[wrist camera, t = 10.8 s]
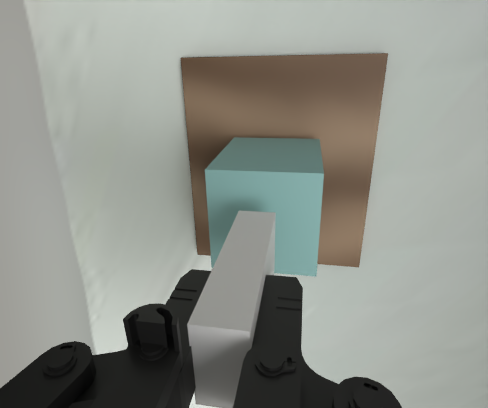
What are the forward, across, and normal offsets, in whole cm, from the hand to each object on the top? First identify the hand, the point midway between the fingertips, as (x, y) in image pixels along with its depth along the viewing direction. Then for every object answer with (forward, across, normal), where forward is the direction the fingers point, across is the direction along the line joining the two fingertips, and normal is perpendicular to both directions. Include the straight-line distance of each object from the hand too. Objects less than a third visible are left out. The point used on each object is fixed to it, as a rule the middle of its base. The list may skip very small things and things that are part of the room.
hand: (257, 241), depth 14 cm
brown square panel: (+10, 0, 0) cm, 10 cm away
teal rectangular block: (+8, 0, 0) cm, 8 cm away
